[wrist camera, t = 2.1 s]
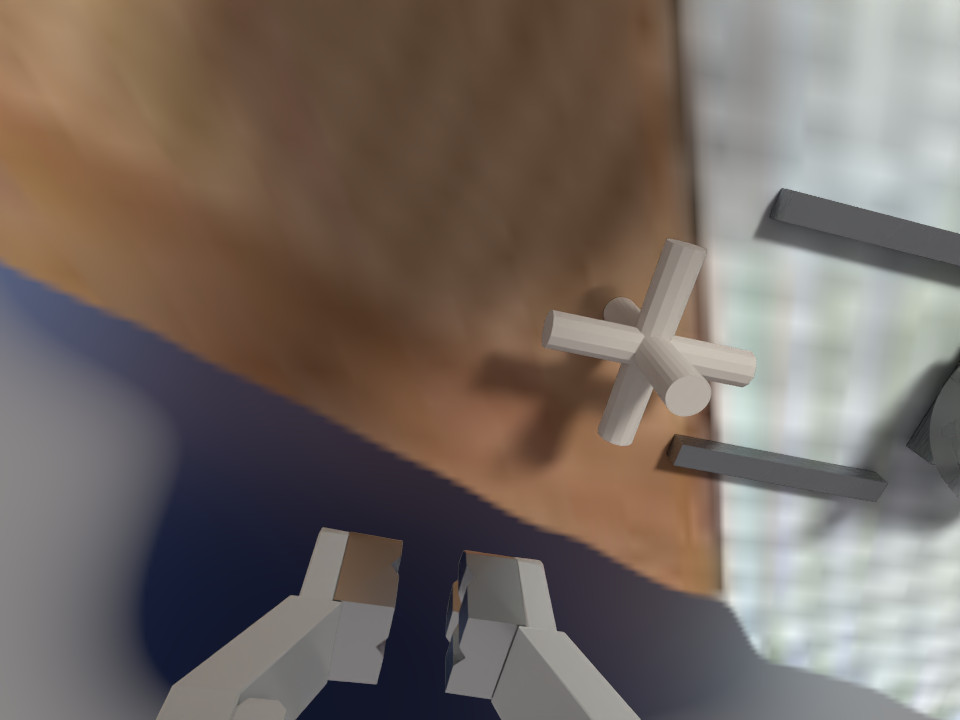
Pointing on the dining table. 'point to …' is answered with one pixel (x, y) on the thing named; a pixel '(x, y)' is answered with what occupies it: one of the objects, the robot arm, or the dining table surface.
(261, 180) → the dining table surface
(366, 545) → the robot arm
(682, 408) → the pipe connector
